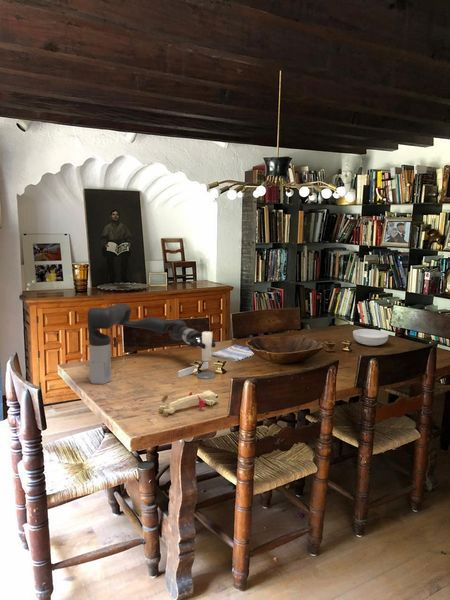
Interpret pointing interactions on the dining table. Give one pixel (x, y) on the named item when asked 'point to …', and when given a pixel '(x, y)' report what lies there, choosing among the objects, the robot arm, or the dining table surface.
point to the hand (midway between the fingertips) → (209, 346)
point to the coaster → (205, 375)
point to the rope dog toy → (188, 401)
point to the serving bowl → (370, 337)
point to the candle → (207, 345)
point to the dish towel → (234, 353)
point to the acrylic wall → (191, 370)
